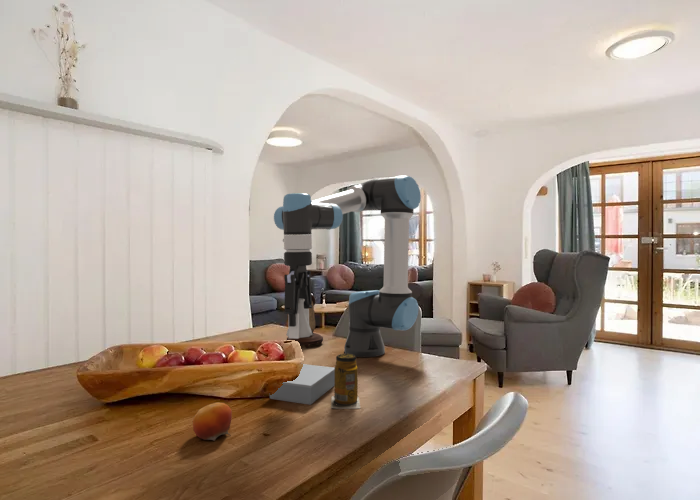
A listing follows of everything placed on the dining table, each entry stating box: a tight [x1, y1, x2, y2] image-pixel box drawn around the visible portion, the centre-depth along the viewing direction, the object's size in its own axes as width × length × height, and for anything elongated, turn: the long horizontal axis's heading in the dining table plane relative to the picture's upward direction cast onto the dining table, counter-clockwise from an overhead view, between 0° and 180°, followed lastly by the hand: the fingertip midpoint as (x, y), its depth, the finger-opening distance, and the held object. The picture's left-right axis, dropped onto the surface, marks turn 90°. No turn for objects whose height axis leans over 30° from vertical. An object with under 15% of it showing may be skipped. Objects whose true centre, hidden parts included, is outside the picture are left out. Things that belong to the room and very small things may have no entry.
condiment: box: [330, 353, 361, 410], centre depth 111 cm, size 7×8×12 cm
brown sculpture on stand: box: [286, 294, 324, 349], centre depth 175 cm, size 15×15×20 cm
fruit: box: [192, 401, 233, 442], centre depth 92 cm, size 8×8×8 cm
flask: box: [286, 299, 313, 338], centre depth 117 cm, size 7×7×10 cm
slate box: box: [269, 363, 335, 406], centre depth 119 cm, size 17×13×5 cm
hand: (299, 334), depth 117 cm, fingers closed on flask, 7 cm apart
